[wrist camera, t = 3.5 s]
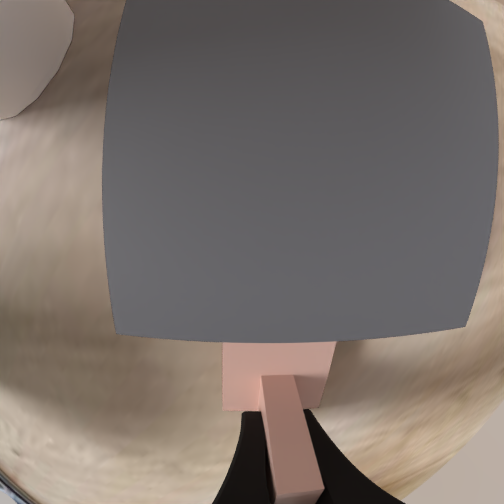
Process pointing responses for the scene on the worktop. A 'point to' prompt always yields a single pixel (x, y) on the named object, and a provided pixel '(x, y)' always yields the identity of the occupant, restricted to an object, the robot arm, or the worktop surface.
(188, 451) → the worktop surface
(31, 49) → the foam cup
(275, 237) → the grey square box
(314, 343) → the pink stepped block
